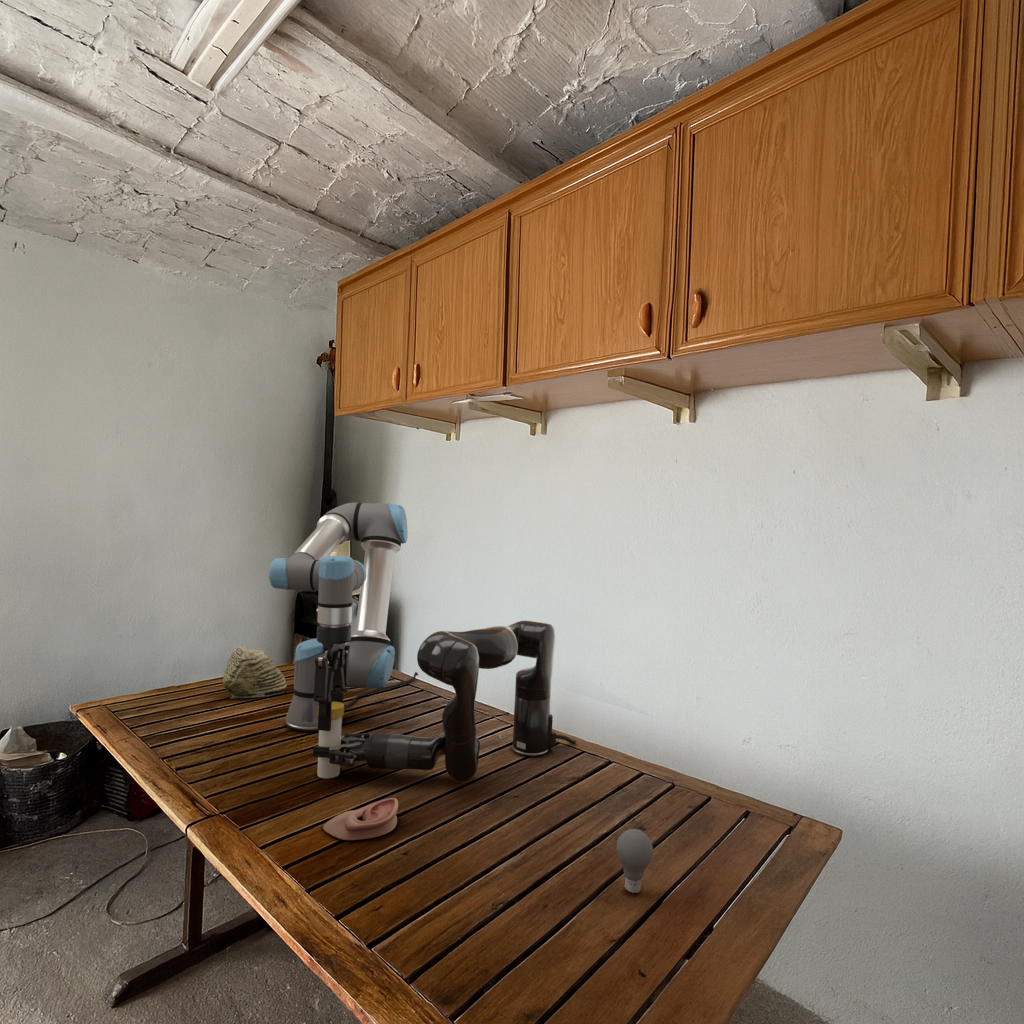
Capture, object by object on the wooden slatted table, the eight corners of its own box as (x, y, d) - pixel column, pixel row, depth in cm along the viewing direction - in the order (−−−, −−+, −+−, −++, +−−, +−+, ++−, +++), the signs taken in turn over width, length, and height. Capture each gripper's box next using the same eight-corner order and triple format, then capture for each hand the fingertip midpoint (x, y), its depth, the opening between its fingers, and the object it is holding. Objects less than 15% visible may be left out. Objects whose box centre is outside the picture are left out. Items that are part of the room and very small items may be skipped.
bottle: (312, 775, 144) (315, 708, 144) (328, 767, 148) (330, 702, 148) (328, 780, 142) (331, 712, 141) (344, 772, 146) (346, 706, 146)
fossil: (218, 695, 195) (220, 647, 195) (278, 685, 208) (279, 640, 207) (228, 703, 189) (230, 653, 188) (289, 692, 201) (290, 645, 201)
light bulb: (610, 879, 108) (613, 822, 108) (644, 879, 109) (647, 822, 109) (619, 902, 102) (622, 840, 102) (655, 901, 103) (658, 840, 103)
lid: (312, 716, 143) (312, 706, 143) (329, 709, 148) (330, 699, 148) (331, 721, 141) (332, 711, 141) (349, 714, 146) (349, 704, 146)
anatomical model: (315, 814, 118) (343, 787, 129) (314, 835, 118) (343, 807, 129) (382, 825, 115) (405, 796, 127) (381, 846, 116) (404, 816, 127)
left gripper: (336, 615, 154) (332, 710, 154) (299, 631, 136) (295, 738, 136) (365, 618, 153) (361, 713, 153) (332, 633, 134) (327, 741, 135)
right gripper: (399, 723, 151) (329, 719, 152) (384, 747, 137) (306, 742, 138) (397, 755, 151) (327, 750, 152) (382, 781, 137) (305, 776, 138)
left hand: (330, 724), depth 145 cm, fingers closed on lid, 6 cm apart
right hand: (318, 746), depth 145 cm, fingers closed on bottle, 5 cm apart
